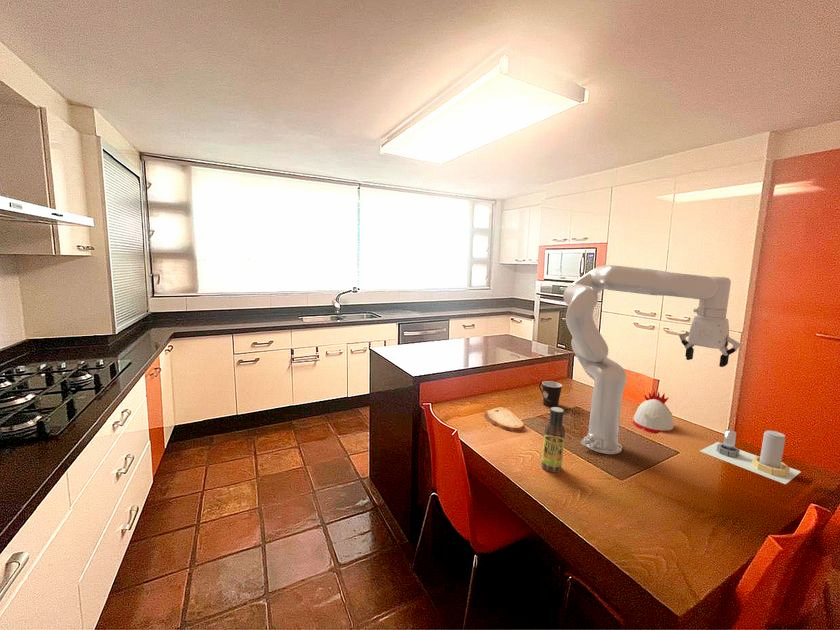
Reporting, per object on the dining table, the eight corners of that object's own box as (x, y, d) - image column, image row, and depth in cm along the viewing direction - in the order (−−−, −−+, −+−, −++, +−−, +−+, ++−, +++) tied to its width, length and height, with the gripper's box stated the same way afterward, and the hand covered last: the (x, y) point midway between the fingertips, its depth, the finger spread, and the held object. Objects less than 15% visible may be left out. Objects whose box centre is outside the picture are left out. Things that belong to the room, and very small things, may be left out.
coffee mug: (563, 408, 165) (564, 387, 163) (544, 408, 165) (545, 387, 163) (554, 399, 176) (555, 379, 175) (536, 398, 176) (537, 379, 175)
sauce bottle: (540, 470, 114) (544, 410, 111) (541, 460, 120) (545, 403, 117) (562, 475, 112) (567, 414, 109) (562, 465, 118) (566, 407, 115)
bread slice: (525, 434, 139) (525, 425, 139) (478, 426, 145) (479, 418, 145) (528, 416, 156) (529, 408, 155) (487, 410, 162) (487, 402, 162)
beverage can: (781, 474, 112) (787, 438, 110) (760, 469, 115) (766, 434, 113) (777, 467, 116) (782, 432, 114) (757, 463, 119) (762, 428, 117)
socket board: (784, 488, 107) (786, 478, 107) (698, 454, 126) (700, 445, 126) (800, 475, 114) (802, 465, 114) (717, 444, 133) (718, 436, 133)
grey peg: (731, 456, 123) (734, 434, 122) (720, 452, 125) (723, 430, 124) (734, 454, 124) (738, 432, 123) (724, 450, 127) (727, 428, 126)
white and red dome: (672, 437, 138) (676, 400, 136) (630, 427, 146) (634, 392, 144) (673, 425, 149) (678, 390, 147) (635, 416, 157) (638, 383, 155)
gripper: (677, 311, 127) (672, 358, 129) (739, 317, 112) (731, 370, 115) (688, 310, 131) (682, 356, 133) (749, 316, 116) (741, 367, 118)
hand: (705, 362), depth 124 cm, fingers open, 9 cm apart
